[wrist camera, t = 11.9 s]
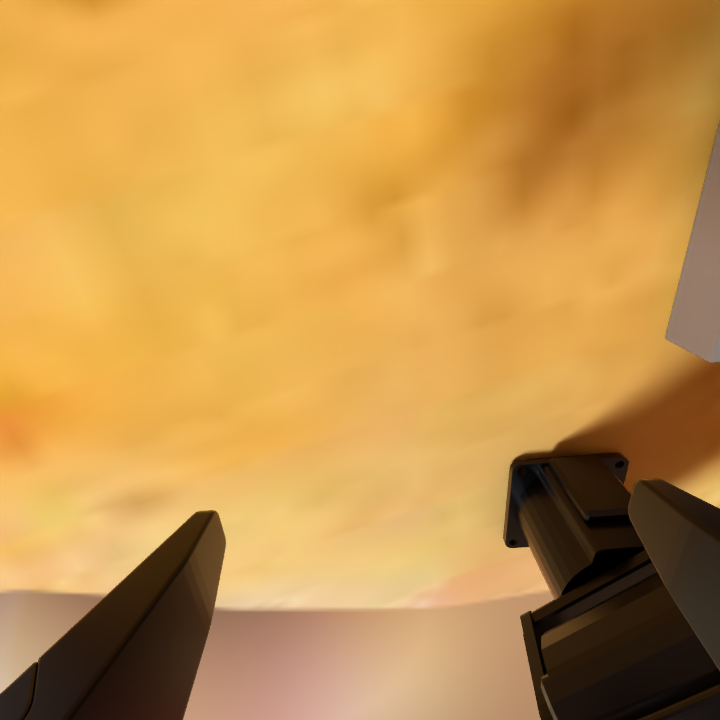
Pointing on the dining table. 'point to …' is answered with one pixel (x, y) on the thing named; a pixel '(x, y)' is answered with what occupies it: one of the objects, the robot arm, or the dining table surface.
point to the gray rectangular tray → (701, 275)
